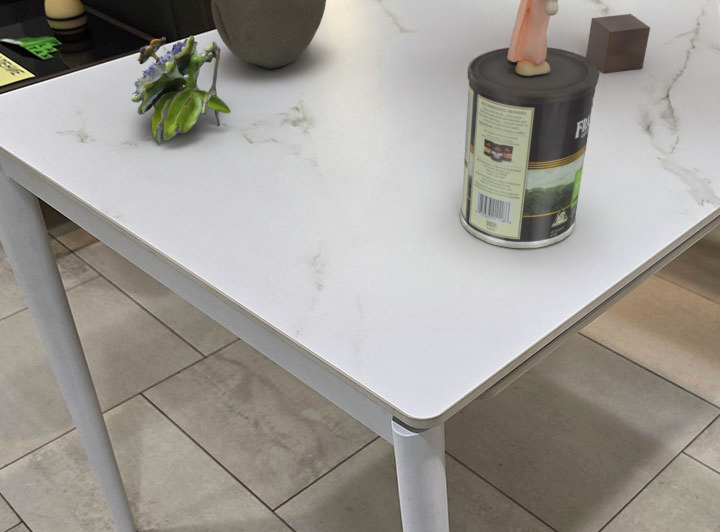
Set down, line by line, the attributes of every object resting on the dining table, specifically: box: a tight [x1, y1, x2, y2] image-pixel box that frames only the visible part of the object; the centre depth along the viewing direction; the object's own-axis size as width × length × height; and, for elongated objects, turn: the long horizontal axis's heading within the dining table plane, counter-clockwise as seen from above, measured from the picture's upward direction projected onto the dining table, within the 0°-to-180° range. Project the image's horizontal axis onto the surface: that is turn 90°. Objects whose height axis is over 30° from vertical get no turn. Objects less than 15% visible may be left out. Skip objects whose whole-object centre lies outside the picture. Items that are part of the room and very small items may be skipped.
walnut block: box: [585, 13, 651, 74], centre depth 102 cm, size 5×5×5 cm
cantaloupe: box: [210, 0, 327, 69], centre depth 104 cm, size 14×14×15 cm
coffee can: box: [459, 46, 600, 249], centre depth 73 cm, size 10×10×14 cm
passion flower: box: [130, 35, 232, 145], centre depth 94 cm, size 11×11×12 cm
